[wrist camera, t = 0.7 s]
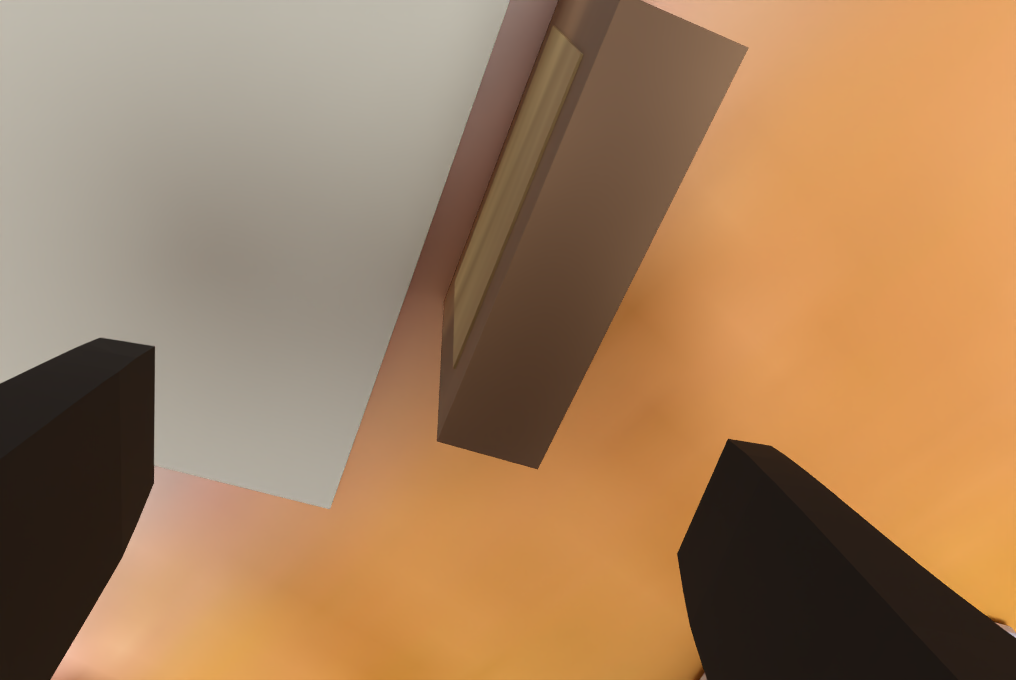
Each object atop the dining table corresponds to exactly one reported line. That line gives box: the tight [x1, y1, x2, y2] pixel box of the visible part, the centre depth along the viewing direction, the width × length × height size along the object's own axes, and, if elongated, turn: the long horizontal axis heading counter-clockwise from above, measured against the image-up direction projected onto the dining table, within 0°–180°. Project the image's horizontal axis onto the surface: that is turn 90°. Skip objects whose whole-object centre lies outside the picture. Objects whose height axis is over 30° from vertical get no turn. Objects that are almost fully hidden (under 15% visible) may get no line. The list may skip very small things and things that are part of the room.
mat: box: [0, 0, 510, 509], centre depth 16 cm, size 16×16×1 cm
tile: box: [437, 0, 748, 469], centre depth 15 cm, size 2×8×6 cm, turn 159°
